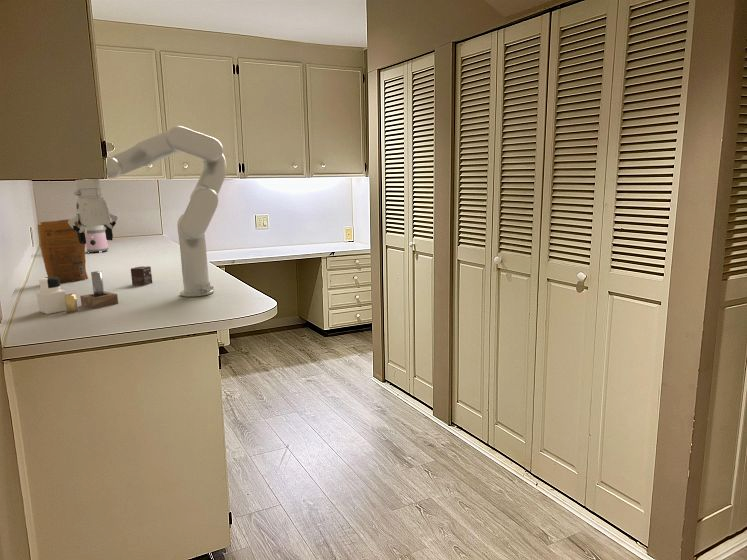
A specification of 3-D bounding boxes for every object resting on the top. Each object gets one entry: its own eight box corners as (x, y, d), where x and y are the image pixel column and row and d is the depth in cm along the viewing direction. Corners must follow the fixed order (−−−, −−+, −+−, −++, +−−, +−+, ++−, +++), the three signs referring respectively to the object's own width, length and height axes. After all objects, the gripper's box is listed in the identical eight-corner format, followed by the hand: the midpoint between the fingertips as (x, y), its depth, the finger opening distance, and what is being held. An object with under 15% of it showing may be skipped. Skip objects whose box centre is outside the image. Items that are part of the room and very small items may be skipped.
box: (144, 285, 233) (142, 268, 232) (131, 285, 235) (130, 268, 233) (152, 282, 239) (151, 266, 238) (140, 282, 240) (138, 266, 239)
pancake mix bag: (93, 279, 251) (85, 218, 245) (45, 285, 240) (36, 221, 234) (90, 277, 256) (83, 217, 251) (43, 283, 245) (34, 220, 240)
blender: (92, 251, 354) (85, 201, 348) (111, 250, 355) (105, 200, 349) (81, 254, 338) (74, 202, 332) (102, 253, 339) (95, 201, 333)
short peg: (79, 311, 190) (77, 294, 189) (69, 313, 188) (67, 296, 187) (75, 310, 192) (72, 293, 191) (64, 312, 190) (62, 295, 189)
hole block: (118, 303, 201) (117, 293, 200) (93, 308, 194) (92, 298, 193) (105, 300, 206) (104, 291, 206) (81, 305, 199) (80, 296, 199)
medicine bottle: (60, 307, 197) (55, 274, 195) (68, 310, 192) (64, 276, 190) (38, 311, 192) (33, 278, 189) (46, 314, 187) (41, 280, 185)
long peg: (107, 303, 201) (103, 271, 198) (98, 305, 198) (93, 273, 196) (102, 302, 203) (98, 270, 200) (93, 304, 200) (89, 272, 198)
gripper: (69, 195, 185) (77, 245, 188) (118, 192, 199) (124, 239, 202) (59, 195, 189) (67, 244, 193) (107, 192, 203) (114, 238, 206)
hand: (96, 241), depth 197 cm, fingers open, 9 cm apart
